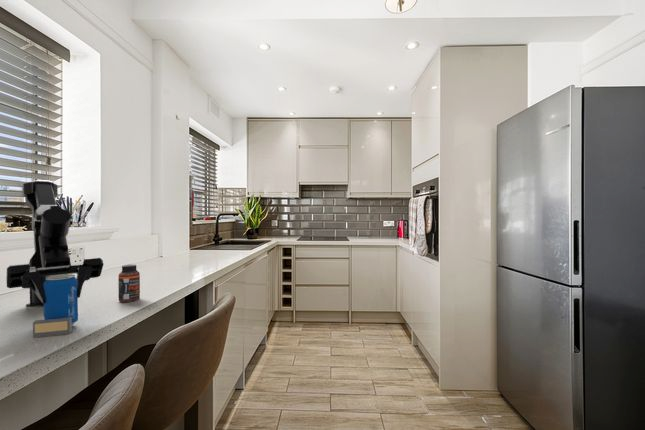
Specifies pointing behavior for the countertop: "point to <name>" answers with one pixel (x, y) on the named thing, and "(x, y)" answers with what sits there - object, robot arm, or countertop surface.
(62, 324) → the rail
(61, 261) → the robot arm
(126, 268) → the supplement bottle
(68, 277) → the beverage can
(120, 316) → the countertop surface
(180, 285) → the countertop surface
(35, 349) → the countertop surface
